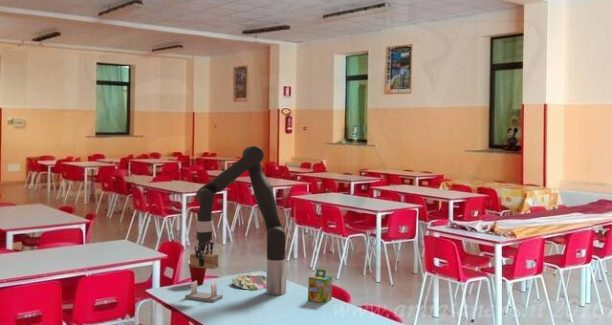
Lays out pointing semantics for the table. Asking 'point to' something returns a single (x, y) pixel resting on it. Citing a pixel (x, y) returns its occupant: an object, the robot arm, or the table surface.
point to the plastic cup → (197, 274)
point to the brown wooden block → (209, 261)
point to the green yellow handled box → (320, 287)
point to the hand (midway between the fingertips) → (204, 265)
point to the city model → (250, 281)
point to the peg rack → (203, 294)
